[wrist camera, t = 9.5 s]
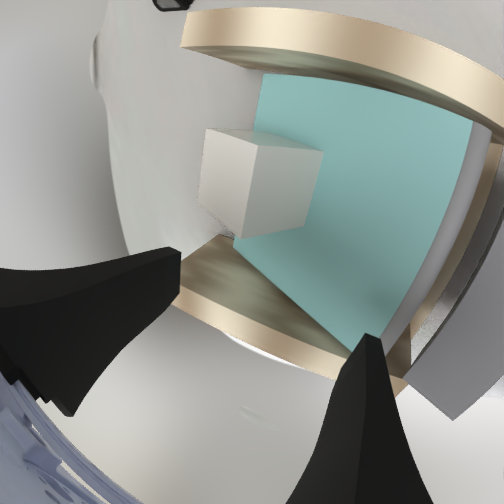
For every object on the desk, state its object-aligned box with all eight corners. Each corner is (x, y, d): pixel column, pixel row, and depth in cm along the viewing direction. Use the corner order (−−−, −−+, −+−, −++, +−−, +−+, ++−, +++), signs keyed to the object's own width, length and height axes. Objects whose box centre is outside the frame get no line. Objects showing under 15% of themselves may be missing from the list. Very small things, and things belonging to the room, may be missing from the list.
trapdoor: (578, 204, 4) (601, 210, 2) (461, 391, 10) (443, 431, 8) (302, 85, 15) (262, 73, 13) (268, 239, 22) (231, 247, 19)
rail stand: (499, 120, 9) (557, 122, 4) (407, 332, 18) (405, 403, 12) (251, 43, 14) (187, 12, 8) (216, 254, 23) (162, 298, 17)
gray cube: (324, 151, 12) (258, 145, 9) (303, 226, 14) (240, 239, 11) (269, 132, 14) (206, 128, 12) (256, 196, 16) (197, 203, 14)
